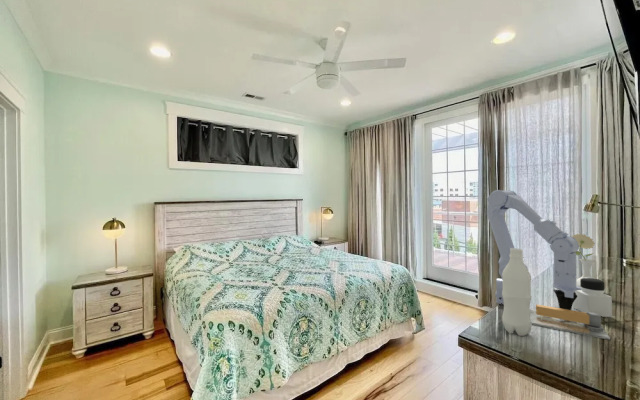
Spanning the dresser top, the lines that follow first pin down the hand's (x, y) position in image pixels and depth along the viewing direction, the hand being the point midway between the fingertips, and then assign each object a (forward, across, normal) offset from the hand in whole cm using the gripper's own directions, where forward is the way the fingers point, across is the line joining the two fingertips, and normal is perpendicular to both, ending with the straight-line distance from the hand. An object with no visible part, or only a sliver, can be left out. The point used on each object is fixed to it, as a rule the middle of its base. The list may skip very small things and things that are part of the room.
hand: (564, 313), depth 92 cm
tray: (+2, -5, +1) cm, 5 cm away
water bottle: (+2, -21, +14) cm, 25 cm away
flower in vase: (+2, +44, -13) cm, 46 cm away
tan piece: (0, -5, 0) cm, 5 cm away
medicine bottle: (+2, +12, -9) cm, 15 cm away
